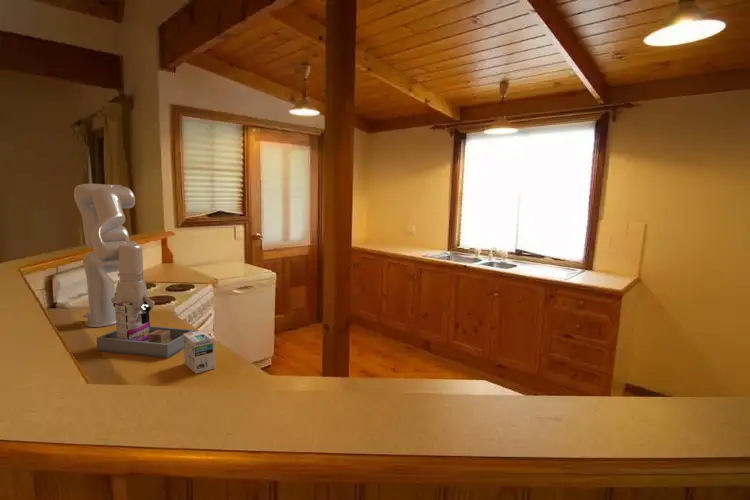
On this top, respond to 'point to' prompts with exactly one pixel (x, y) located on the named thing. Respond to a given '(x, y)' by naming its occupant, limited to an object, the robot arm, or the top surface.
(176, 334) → the tote
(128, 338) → the candy bar box
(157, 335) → the walnut cube
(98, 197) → the robot arm
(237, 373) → the top surface
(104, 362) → the top surface
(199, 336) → the light bulb box
